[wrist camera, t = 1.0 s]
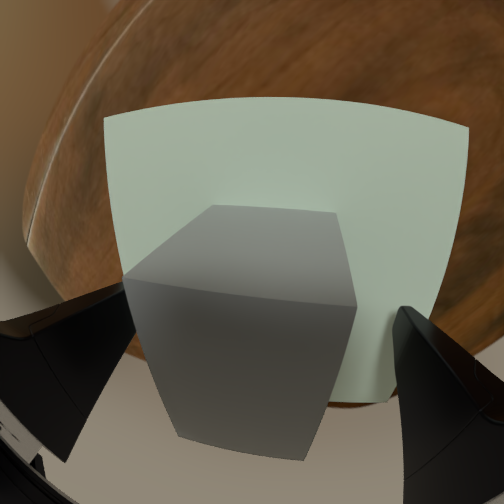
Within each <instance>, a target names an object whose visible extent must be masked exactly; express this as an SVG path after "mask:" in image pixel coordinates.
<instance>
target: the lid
mask: <svg viewBox="0 0 504 504" xmlns="http://www.w3.org/2000/svg"><path fill="white" fill-rule="evenodd" d="M104 138H105V155H106V167H107V178H108V187H109V195H110V203H111V210H112V216H113V223H114V229H115V234H116V240H117V245H118V250H119V255H120V260H121V265H122V269H123V274H124V276H123V277H122V281H123V285H124V289H125V292H126V296H127V300H128V304H129V307H130V311H131V314H132V318H133V321H134V324H135V328H136V331H137V334H138V337H139V340H140V343H141V346H142V349H143V352H144V355H145V358H146V361H147V363H148V366H149V369H150V371H151V374H152V377H153V379H154V382H155V384H156V387H157V389H158V392H159V394H160V397H161V399H162V401H163V404H164V406H165V408H166V411H167V413H168V415H169V417H170V419H171V422H172V424H173V426H174V428H175V430H176V432H177V434H178V436H179V437H182V438H185V439H189V440H192V441H196V442H199V443H203V444H207V445H211V446H215V447H219V448H224V449H228V450H232V451H237V452H242V453H248V454H253V455H259V456H266V457H273V458H281V459H290V460H301V461H304V459H305V457H306V455H307V453H308V451H309V448H310V446H311V444H312V442H313V439H314V437H315V434H316V432H317V430H318V427H319V425H320V423H321V420H322V418H323V415H324V412H325V410H326V407H327V405H328V402H329V401H332V402H368V403H371V402H387V401H388V399H389V398H390V396H391V394H392V393H393V391H394V389H395V387H396V386H397V383H396V376H395V369H394V352H393V338H392V326H393V323H394V320H395V317H396V314H397V311H398V309H399V307H400V306H411V307H413V308H414V309H415V310H417V311H418V312H419V313H421V314H422V315H423V316H424V317H426V318H427V319H429V316H430V314H431V311H432V308H433V306H434V303H435V300H436V297H437V295H438V292H439V289H440V286H441V283H442V280H443V277H444V273H445V270H446V267H447V263H448V260H449V256H450V253H451V249H452V245H453V241H454V237H455V232H456V228H457V223H458V219H459V214H460V208H461V203H462V196H463V190H464V183H465V175H466V166H467V155H468V139H469V128H468V127H465V126H462V125H459V124H455V123H452V122H449V121H445V120H442V119H438V118H434V117H430V116H426V115H422V114H418V113H413V112H409V111H404V110H399V109H394V108H389V107H383V106H377V105H370V104H363V103H356V102H348V101H338V100H327V99H313V98H291V97H251V98H229V99H215V100H204V101H194V102H186V103H178V104H171V105H165V106H158V107H153V108H147V109H142V110H137V111H132V112H127V113H123V114H118V115H114V116H110V117H106V118H104Z"/></svg>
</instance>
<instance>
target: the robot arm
mask: <svg viewBox="0 0 504 504" xmlns="http://www.w3.org/2000/svg"><path fill="white" fill-rule="evenodd" d="M135 333H136V328H135V324H134V321H133V318H132V314H131V311H130V307H129V304H128V300H127V296H126V292H125V289H124V285H123V281H122V282H119V283H116V284H113V285H111V286H108V287H105V288H102V289H99V290H96V291H94V292H91V293H88V294H85V295H82V296H79V297H77V298H74V299H71V300H68V301H65V302H63V303H61V304H57V305H54V306H52V307H49V308H46V309H43V310H40V311H37V312H34V313H31V314H27V315H24V316H20V317H17V318H14V319H10V320H6V321H0V504H79V503H77V502H76V501H74V500H73V499H71V498H70V497H69V496H67V495H66V494H65V493H63V492H62V491H61V490H59V489H58V488H57V487H55V486H54V485H53V484H52V483H50V482H49V481H48V480H47V479H46V477H45V471H44V466H43V460H42V457H41V455H39V454H38V451H39V450H40V449H41V447H42V446H43V447H44V448H46V449H47V450H48V451H49V452H51V453H52V454H53V455H54V456H56V457H57V458H59V459H60V460H61V461H62V462H64V463H65V462H66V461H67V459H68V457H69V455H70V453H71V451H72V449H73V447H74V445H75V443H76V441H77V439H78V436H79V434H80V433H81V430H82V429H83V427H84V425H85V423H86V421H87V418H88V416H89V414H90V412H91V411H92V409H93V407H94V405H95V403H96V401H97V400H98V398H99V396H100V394H101V392H102V390H103V389H104V386H105V385H106V383H107V381H108V380H109V378H110V376H111V374H112V373H113V371H114V369H115V367H116V366H117V364H118V362H119V360H120V359H121V357H122V355H123V354H124V352H125V350H126V348H127V347H128V345H129V343H130V342H131V340H132V338H133V337H134V335H135ZM392 338H393V352H394V369H395V376H396V383H397V390H398V398H399V405H400V415H401V426H402V440H403V460H404V480H405V481H404V491H403V504H504V382H503V381H502V380H500V379H499V378H498V377H496V376H495V375H494V374H493V373H491V372H490V371H489V370H488V369H487V368H486V367H485V366H483V365H482V364H481V363H480V362H479V361H478V360H475V358H474V357H473V356H472V355H471V354H470V353H468V352H467V351H466V350H465V349H464V348H462V347H461V346H460V345H459V344H458V343H457V342H455V341H454V340H453V339H452V338H450V337H449V336H448V335H447V334H446V333H444V332H443V331H442V330H441V329H439V328H438V327H437V326H436V325H434V324H433V323H432V322H431V321H429V320H428V319H427V318H426V317H424V316H423V315H422V314H421V313H419V312H418V311H417V310H415V309H414V308H413V307H411V306H400V307H399V309H398V311H397V314H396V317H395V320H394V323H393V326H392Z"/></svg>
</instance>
